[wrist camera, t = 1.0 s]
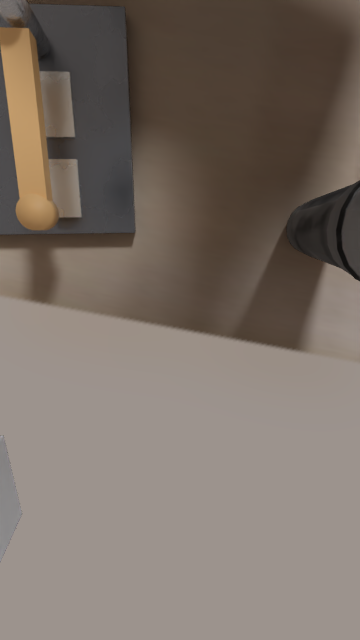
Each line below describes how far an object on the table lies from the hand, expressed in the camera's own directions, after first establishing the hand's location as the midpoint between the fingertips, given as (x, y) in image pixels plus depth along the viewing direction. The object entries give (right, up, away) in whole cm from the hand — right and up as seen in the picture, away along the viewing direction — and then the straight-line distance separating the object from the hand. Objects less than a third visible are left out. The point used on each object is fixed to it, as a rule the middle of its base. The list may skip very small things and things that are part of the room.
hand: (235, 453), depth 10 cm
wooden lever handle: (-12, +16, +14) cm, 24 cm away
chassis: (-12, +19, +18) cm, 29 cm away
